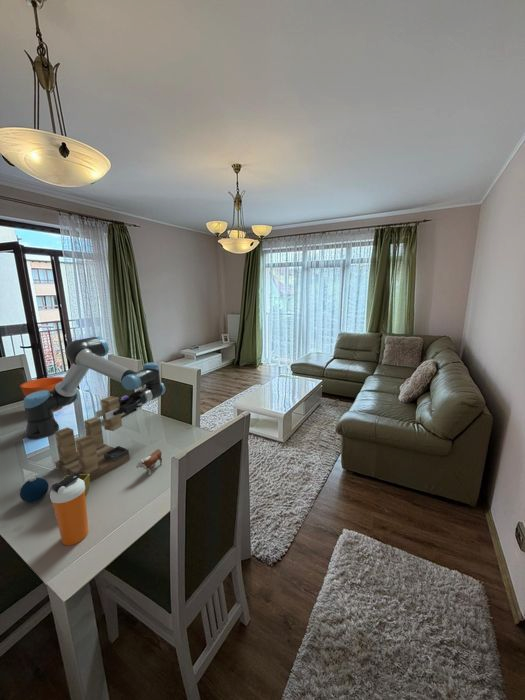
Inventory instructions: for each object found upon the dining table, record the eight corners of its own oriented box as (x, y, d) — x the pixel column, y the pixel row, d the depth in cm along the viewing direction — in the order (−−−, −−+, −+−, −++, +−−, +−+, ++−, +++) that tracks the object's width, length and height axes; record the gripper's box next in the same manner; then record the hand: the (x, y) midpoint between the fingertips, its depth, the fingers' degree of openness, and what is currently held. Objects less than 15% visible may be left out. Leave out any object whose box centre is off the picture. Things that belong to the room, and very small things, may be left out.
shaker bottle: (98, 528, 92) (90, 474, 88) (72, 552, 84) (62, 493, 80) (78, 522, 95) (69, 469, 91) (51, 543, 86) (40, 486, 83)
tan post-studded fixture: (56, 468, 125) (49, 432, 122) (99, 447, 143) (95, 415, 139) (86, 484, 114) (80, 445, 111) (130, 459, 131) (126, 425, 128)
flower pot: (69, 495, 108) (66, 474, 106) (93, 494, 108) (90, 473, 107) (54, 512, 99) (50, 490, 97) (80, 511, 100) (77, 488, 98)
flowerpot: (52, 416, 181) (47, 387, 177) (14, 417, 181) (9, 388, 177) (78, 402, 205) (74, 376, 202) (44, 402, 206) (40, 377, 202)
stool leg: (104, 429, 125) (100, 399, 122) (113, 424, 130) (110, 396, 127) (113, 431, 123) (109, 401, 121) (122, 426, 128) (118, 397, 125)
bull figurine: (135, 478, 117) (133, 461, 116) (158, 461, 129) (156, 445, 128) (143, 481, 116) (141, 463, 114) (165, 463, 128) (164, 447, 126)
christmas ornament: (46, 489, 112) (42, 466, 110) (53, 498, 106) (48, 474, 104) (19, 501, 105) (14, 477, 103) (24, 511, 100) (19, 486, 98)
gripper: (155, 406, 139) (118, 426, 118) (127, 402, 145) (86, 421, 124) (154, 392, 138) (116, 410, 116) (125, 388, 144) (84, 405, 122)
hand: (101, 415), depth 120 cm, fingers closed on stool leg, 5 cm apart
